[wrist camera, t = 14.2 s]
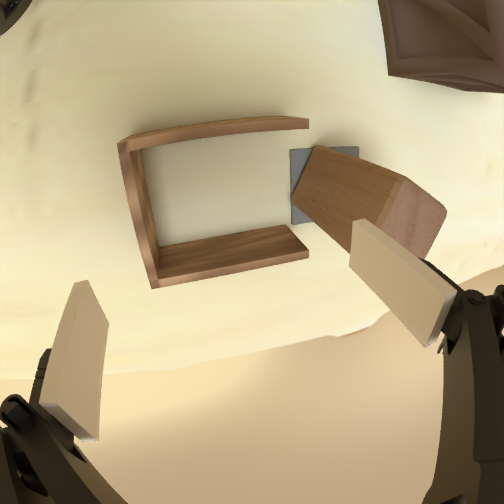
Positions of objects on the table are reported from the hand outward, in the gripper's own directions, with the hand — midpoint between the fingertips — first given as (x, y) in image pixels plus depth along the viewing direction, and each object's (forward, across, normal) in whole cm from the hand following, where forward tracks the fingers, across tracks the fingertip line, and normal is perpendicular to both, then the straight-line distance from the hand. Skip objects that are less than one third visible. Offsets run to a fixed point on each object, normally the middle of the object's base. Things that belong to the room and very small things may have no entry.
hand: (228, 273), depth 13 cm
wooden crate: (+29, +46, +24) cm, 60 cm away
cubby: (+29, +3, -5) cm, 29 cm away
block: (+28, +20, -7) cm, 35 cm away
